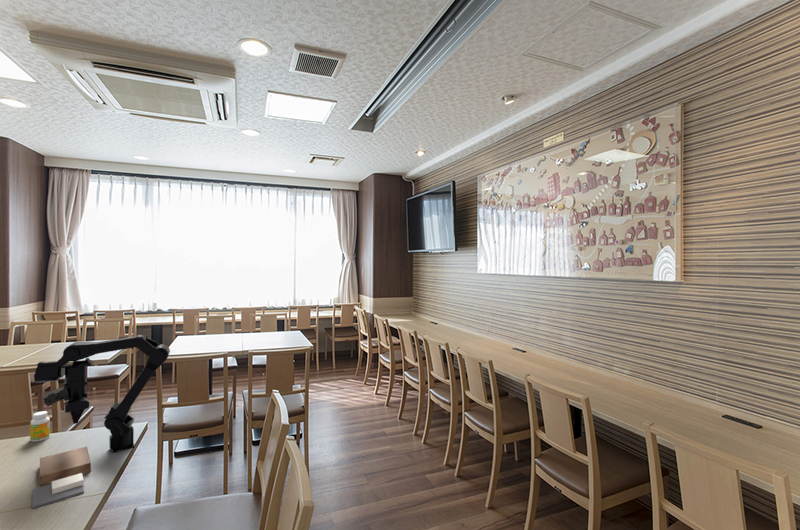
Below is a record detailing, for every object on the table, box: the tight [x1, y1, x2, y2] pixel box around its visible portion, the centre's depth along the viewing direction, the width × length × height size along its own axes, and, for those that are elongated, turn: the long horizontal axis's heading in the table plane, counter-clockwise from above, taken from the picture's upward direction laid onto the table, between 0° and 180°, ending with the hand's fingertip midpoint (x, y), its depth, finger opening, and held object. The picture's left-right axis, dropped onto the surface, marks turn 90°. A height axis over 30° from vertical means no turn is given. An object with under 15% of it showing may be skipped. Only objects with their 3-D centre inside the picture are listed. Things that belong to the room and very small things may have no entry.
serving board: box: [39, 446, 92, 487], centre depth 124 cm, size 12×14×3 cm
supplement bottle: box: [29, 410, 51, 443], centre depth 144 cm, size 5×5×10 cm
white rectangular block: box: [51, 473, 84, 494], centre depth 115 cm, size 7×5×2 cm
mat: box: [31, 483, 85, 510], centre depth 113 cm, size 11×11×1 cm
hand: (75, 423), depth 134 cm, fingers closed
